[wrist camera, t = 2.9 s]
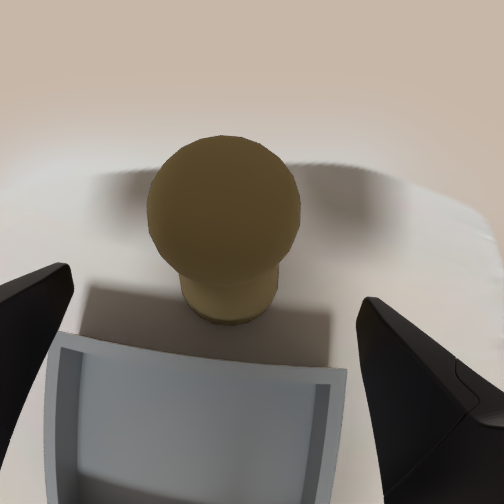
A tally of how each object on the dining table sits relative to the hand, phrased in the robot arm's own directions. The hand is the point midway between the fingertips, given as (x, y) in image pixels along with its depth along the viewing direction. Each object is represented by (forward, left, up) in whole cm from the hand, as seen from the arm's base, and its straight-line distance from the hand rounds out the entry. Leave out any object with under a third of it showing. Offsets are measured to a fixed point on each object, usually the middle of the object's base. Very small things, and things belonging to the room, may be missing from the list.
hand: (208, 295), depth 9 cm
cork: (+3, +2, -10) cm, 11 cm away
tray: (-8, -3, -10) cm, 13 cm away
